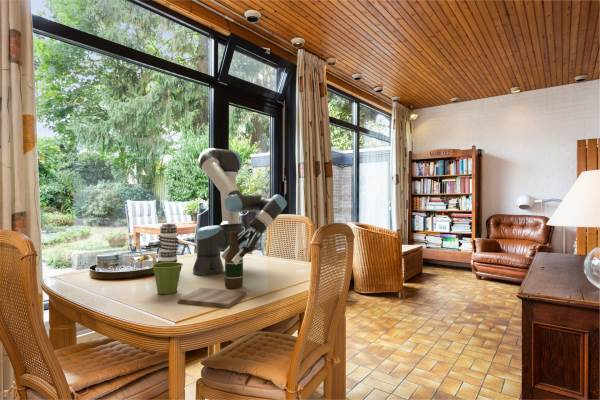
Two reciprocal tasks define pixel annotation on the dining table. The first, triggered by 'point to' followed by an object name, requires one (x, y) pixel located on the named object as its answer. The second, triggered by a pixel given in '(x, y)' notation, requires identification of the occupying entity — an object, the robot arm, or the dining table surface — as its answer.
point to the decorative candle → (168, 243)
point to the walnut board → (212, 297)
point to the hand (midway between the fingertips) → (228, 260)
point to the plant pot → (167, 276)
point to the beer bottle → (233, 265)
